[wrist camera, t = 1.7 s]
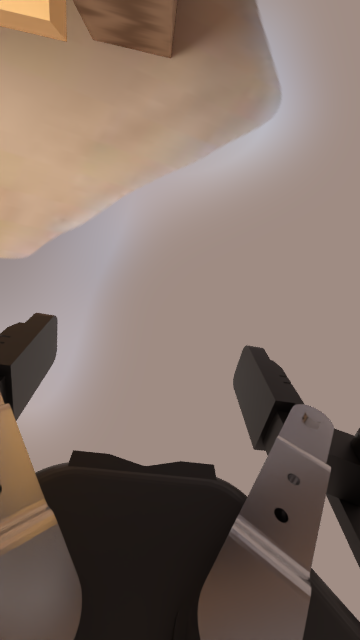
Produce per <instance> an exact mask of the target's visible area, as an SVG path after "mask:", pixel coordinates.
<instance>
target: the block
mask: <svg viewBox="0 0 360 640" xmlns="http://www.w3.org/2000/svg"><path fill="white" fill-rule="evenodd" d="M0 26H2V27H6V28H11V29H15V30H19V31H23V32H28V33H32V34H36V35H41V36H45V37H49V38H53V39H58V40H62V41H66V42H67V31H66V0H0Z"/></svg>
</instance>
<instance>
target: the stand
mask: <svg viewBox="0 0 360 640" xmlns="http://www.w3.org/2000/svg"><path fill="white" fill-rule="evenodd" d="M73 1H74V3H75V5H76V7H77V9H78V11H79V13H80V15H81V17H82V19H83V21H84V23H85V25H86V27H87V29H88V31H89V33H90V35H91V37H92V39H93V40H96V41H101V42H105V43H109V44H113V45H118V46H122V47H126V48H130V49H135V50H139V51H143V52H147V53H151V54H156V55H160V56H164V57H168V58H171V52H172V44H173V35H174V27H175V18H176V10H177V1H178V0H73Z"/></svg>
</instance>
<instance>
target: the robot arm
mask: <svg viewBox="0 0 360 640" xmlns="http://www.w3.org/2000/svg"><path fill="white" fill-rule="evenodd" d="M56 352H57V317H56V316H54V315H47V314H41V313H35V314H34V315H33V316H32V317H31V318H30V319H29V320H28V321H27V322H25V323H20V322H19V323H17V324H14V325H12V326H10V327H7V328H6V329H5V330H4V331H3V332H2V333H1V334H0V640H360V622H359V621H358V620H357V619H356V618H355V616H354V615H353V614H352V613H351V612H350V611H349V610H348V609H347V607H346V606H345V605H344V604H343V603H342V602H341V601H340V600H339V598H338V597H337V596H336V595H335V594H334V593H333V592H332V591H331V589H330V588H329V587H328V586H327V585H326V584H325V583H324V582H323V581H322V579H321V578H320V577H319V576H318V575H317V574H316V573H315V571H314V570H313V569H312V568H311V566H312V561H313V556H314V551H315V546H316V541H317V536H318V531H319V526H320V521H321V516H322V511H323V507H324V502H325V497H326V496H327V498H328V500H329V502H330V504H331V506H332V509H333V511H334V513H335V515H336V517H337V519H338V522H339V524H340V526H341V528H342V530H343V533H344V535H345V537H346V539H347V541H348V544H349V546H350V548H351V550H352V552H353V554H354V557H355V559H356V561H357V563H358V565H359V567H360V428H359V430H358V431H357V433H356V434H355V436H353V435H350V434H348V433H345V432H342V431H339V430H337V429H334V426H333V424H332V422H331V421H330V419H329V418H328V417H327V416H326V415H325V414H323V413H322V412H321V411H319V410H317V409H316V408H313V407H311V406H308V405H305V404H304V403H303V401H302V400H301V398H300V396H299V395H298V393H297V392H296V390H295V389H294V387H293V385H292V384H291V382H290V380H289V379H288V378H287V376H286V374H285V372H284V371H283V369H282V368H281V367H280V366H279V365H277V364H276V363H275V362H274V361H272V360H270V359H269V357H268V355H267V353H266V352H265V350H264V349H263V348H259V347H253V346H245V347H244V349H243V351H242V354H241V357H240V360H239V362H238V365H237V368H236V371H235V374H234V379H233V385H234V390H235V393H236V396H237V399H238V402H239V405H240V408H241V411H242V414H243V417H244V420H245V424H246V427H247V430H248V433H249V436H250V439H251V442H252V445H253V448H254V449H255V450H264V451H266V452H267V455H268V457H267V459H266V461H265V463H264V465H263V467H262V469H261V471H260V473H259V475H258V477H257V479H256V481H255V483H254V485H253V487H252V489H251V491H250V493H249V495H248V497H247V496H246V495H245V494H244V493H242V492H241V491H240V490H239V489H237V488H236V487H234V486H233V485H231V484H230V483H228V482H226V481H224V480H222V479H220V478H217V477H216V475H215V469H214V465H211V464H201V463H190V462H181V461H180V462H173V463H166V464H159V465H152V466H142V465H139V464H136V463H133V462H131V461H127V460H125V459H122V458H119V457H116V456H113V455H110V454H103V453H93V452H84V451H73V453H72V455H71V458H70V461H69V463H62V464H58V465H54V466H51V467H48V468H45V469H43V470H40V471H38V472H36V473H35V471H34V469H33V466H32V463H31V461H30V458H29V455H28V453H27V450H26V447H25V445H24V442H23V439H22V436H21V434H20V431H19V428H18V426H17V423H16V420H17V419H18V417H19V416H20V414H21V413H22V411H23V410H24V408H25V406H26V405H27V403H28V402H29V400H30V399H31V397H32V395H33V394H34V392H35V391H36V389H37V388H38V386H39V385H40V383H41V381H42V380H43V378H44V377H45V375H46V374H47V372H48V370H49V369H50V367H51V366H52V364H53V362H54V360H55V357H56Z"/></svg>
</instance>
